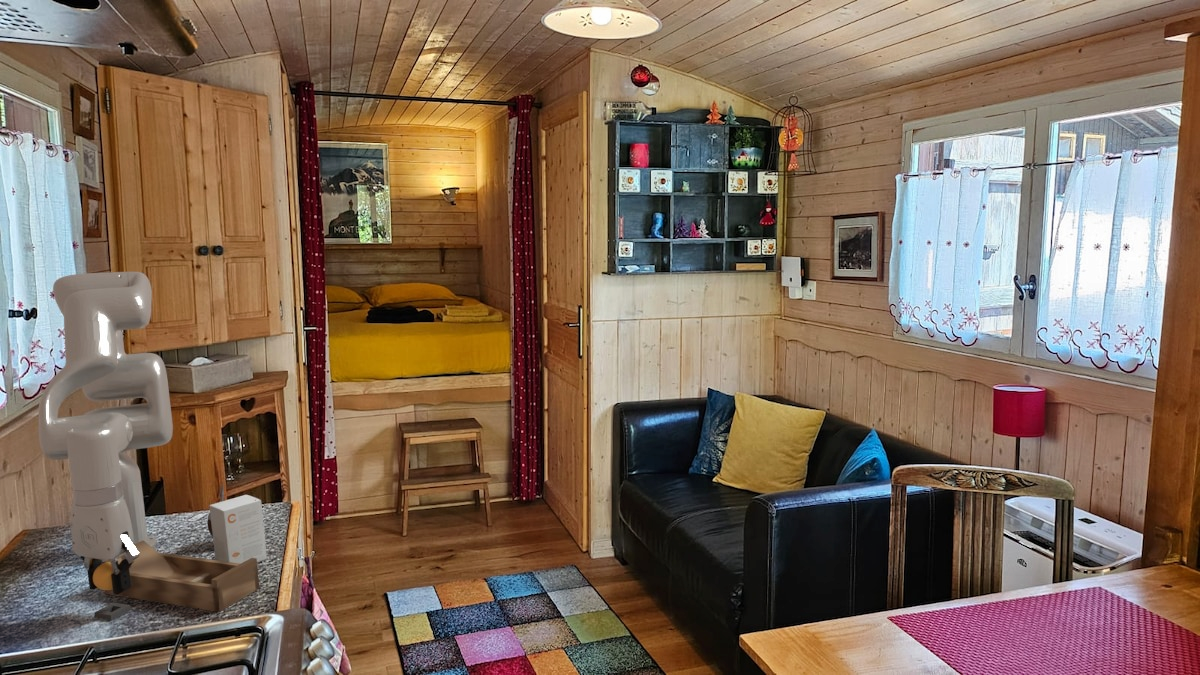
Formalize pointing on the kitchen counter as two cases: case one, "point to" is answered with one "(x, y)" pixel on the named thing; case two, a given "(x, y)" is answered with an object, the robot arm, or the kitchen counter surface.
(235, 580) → the brown long open tray
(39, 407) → the robot arm
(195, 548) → the kitchen counter surface
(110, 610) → the square washer
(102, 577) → the ball
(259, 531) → the small box
